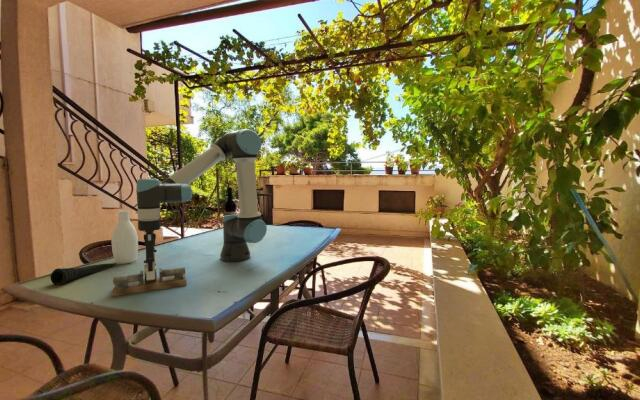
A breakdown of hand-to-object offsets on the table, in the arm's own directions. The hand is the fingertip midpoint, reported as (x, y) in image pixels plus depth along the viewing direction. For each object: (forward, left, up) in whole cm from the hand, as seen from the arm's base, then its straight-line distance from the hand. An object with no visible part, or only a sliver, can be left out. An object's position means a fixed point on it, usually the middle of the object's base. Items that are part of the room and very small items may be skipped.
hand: (151, 274), depth 115 cm
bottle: (+12, -45, -5) cm, 47 cm away
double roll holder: (0, 0, -5) cm, 5 cm away
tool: (+25, -30, -5) cm, 39 cm away
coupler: (0, 0, -3) cm, 3 cm away
